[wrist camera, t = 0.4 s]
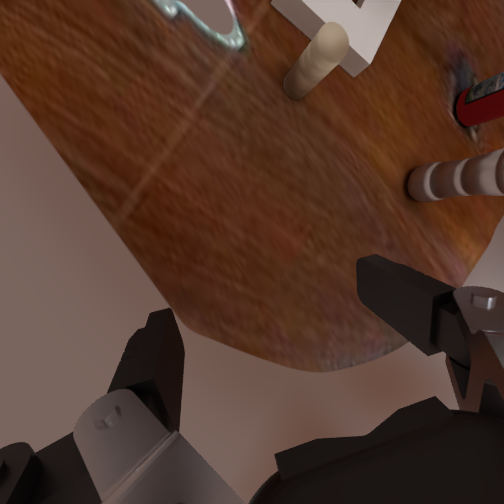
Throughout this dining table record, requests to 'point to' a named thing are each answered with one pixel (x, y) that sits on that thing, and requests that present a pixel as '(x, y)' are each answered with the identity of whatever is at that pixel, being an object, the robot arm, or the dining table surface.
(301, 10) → the socket
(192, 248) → the dining table surface
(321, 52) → the peg
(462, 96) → the beverage can
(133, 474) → the robot arm
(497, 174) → the plastic bottle
